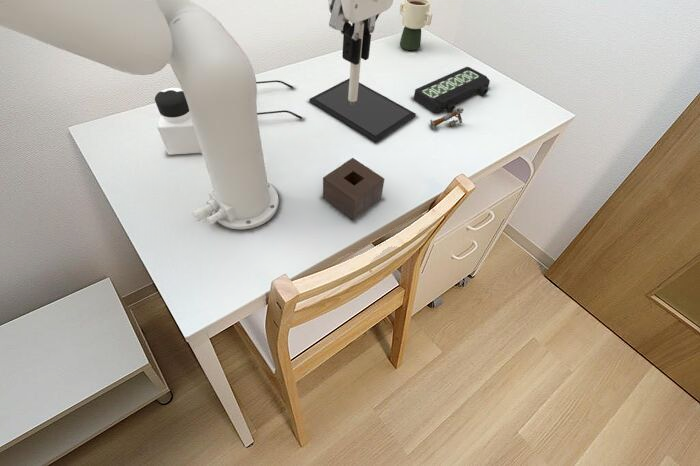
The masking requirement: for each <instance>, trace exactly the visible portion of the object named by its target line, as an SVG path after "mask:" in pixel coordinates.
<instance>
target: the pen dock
mask: <svg viewBox="0 0 700 466" xmlns="http://www.w3.org/2000/svg"><path fill="white" fill-rule="evenodd" d="M384 184H385V178H384V177H383V176H382V175H380V174H378V173H376V172H375V171H373V170H372V169H371V168H369V167H368V166H366V165H365V164H364V163H362V162H360V161H359V160H357V159H355V158H354V157H351V158H350V159H348V160H347V161H345V162H344V163H342V164H341V165H339V166H338V167H337V168H335V169H333V170H332V171H331V172H329V173H328V174H326V175H324V176H323V177H322V199H324V200H325V201H327V202H328V203H329V204H330V205H332V206H333V207H335V208H336V209H337V210H338V211H339V212H341V213H343V214H344V215H345V216H347V217H348V218H349V219H350V220H352V221H355V220H356V219H357V218H359V217H360V216H361V215H362V214H364V213H365V212H367V211H368V210H369V209H370V208H372V206H374V205H375V204H376V203H378V202H379V201H380V200H382V197H383V196H382V195H383V190H384Z"/></svg>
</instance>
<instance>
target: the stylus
mask: <svg viewBox="0 0 700 466" xmlns="http://www.w3.org/2000/svg"><path fill="white" fill-rule="evenodd" d="M363 31H364V22H362V21H361V22H360V32H359V38H360V39H361V51H360V62H359V64H357V65H355V64H353V63H351V62H350V68H349V78H350V80H349V94H348V100H349V101H350V105H351V106H353V105H354V103H355V101H357V95H358V85H359V83H360V74H361V61H362V58H361V52H362V42H363Z"/></svg>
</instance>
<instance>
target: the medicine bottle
mask: <svg viewBox="0 0 700 466" xmlns="http://www.w3.org/2000/svg"><path fill="white" fill-rule="evenodd" d="M154 102H155V105H156V107H157V110H158V112H159V119H158V122H157V127H156V128H157V131H158V133H159V135H160V138H161V140H162V142H163V145H164V148H165V150H166V152H167V154H168V155H169V156H171V155H188V154H202V152H201V149H200V146H199V143H198V140H197V137H196V134H195V130H194V127H193V123H192V119H191V115H190V111H189V107H188V104H187V100H186V98H185V95H184V92H183V90H182V88H179V87H169V88H165V89H162V90H160V91H158V92H157V94H156V95H155V97H154Z"/></svg>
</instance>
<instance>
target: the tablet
mask: <svg viewBox="0 0 700 466" xmlns="http://www.w3.org/2000/svg"><path fill="white" fill-rule="evenodd" d="M349 80H350V77H349V78H347V79H345V80H343V81H341V82H339V83H337V84H335V85H333V86H331V87H330V88H328V89H325V90H324V91H322V92H320V93H318V94H316V95H315V96H312V97H311V98H309V99H308V100H309V103H311V104H312V105H314V106H315V107H316V108H318V109H320V110H321V111H323V112H325V113H327V114H328V115H330V116H331V117H333V118H335V119H336V120H338V121H339V122H341V123H342V124H344V125H346V126H348V127H349V128H350V129H352V130H354V131H355V132H357V133H359V134H360V135H362V136H363V137H365V138H367V139H368V140H370V141H371V142H374V143H375V144H377V143H378V142H380V141H381V140H383V139H384V138H386V137H387V136H389V135H390V134H392V133H393V132H395V131H396V130H398V129H399V128H401V127H402V126H404V125H406V124H407V123H408V122H410V121H411V120H413V119H414V118H416V115H417V113H415V112H414V111H412V110H410V109H408V108H406V107H405V106H404V105H403V106H402V105H401V104H399V103H398V102H395V101H394V100H392V99H391V98H388V97H387V96H385V95H384V94H381V93H379V92H377V91H376V90H374V89H372V88H370V87H368V86H367V85H365V84H363V83H361V82H359V85H358V95H357V101H355V103H354V105H353V106H351V105H350V101H349V100H348V94H349Z"/></svg>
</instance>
